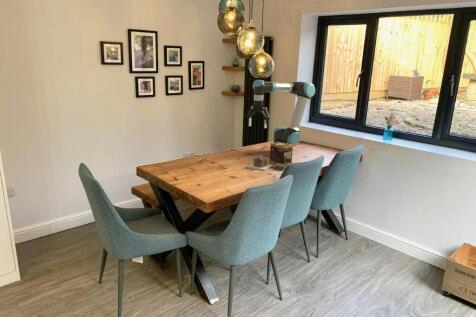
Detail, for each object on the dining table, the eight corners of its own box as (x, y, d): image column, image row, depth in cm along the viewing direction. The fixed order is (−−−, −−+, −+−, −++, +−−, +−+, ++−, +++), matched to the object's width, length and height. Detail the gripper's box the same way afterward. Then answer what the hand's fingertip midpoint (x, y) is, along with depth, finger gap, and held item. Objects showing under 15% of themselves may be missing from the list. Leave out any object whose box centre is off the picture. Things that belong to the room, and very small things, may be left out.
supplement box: (283, 166, 286) (284, 147, 282) (269, 161, 297) (270, 143, 293) (291, 164, 292) (293, 145, 288) (278, 159, 304) (279, 141, 300)
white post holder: (256, 163, 292) (256, 152, 289) (272, 166, 285) (272, 154, 283) (248, 167, 280) (248, 156, 277) (264, 170, 273) (265, 159, 271)
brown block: (257, 163, 287) (258, 156, 286) (267, 165, 284) (267, 157, 282) (253, 165, 281) (253, 158, 279) (262, 167, 277) (263, 160, 275)
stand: (277, 166, 284) (278, 163, 283) (286, 168, 281) (286, 164, 280) (274, 169, 278) (274, 165, 277) (282, 170, 275) (283, 166, 274)
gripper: (242, 99, 286) (241, 126, 292) (271, 102, 275) (270, 129, 281) (246, 98, 293) (245, 124, 299) (275, 101, 281) (273, 128, 287)
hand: (257, 127), depth 290 cm, fingers open, 13 cm apart
